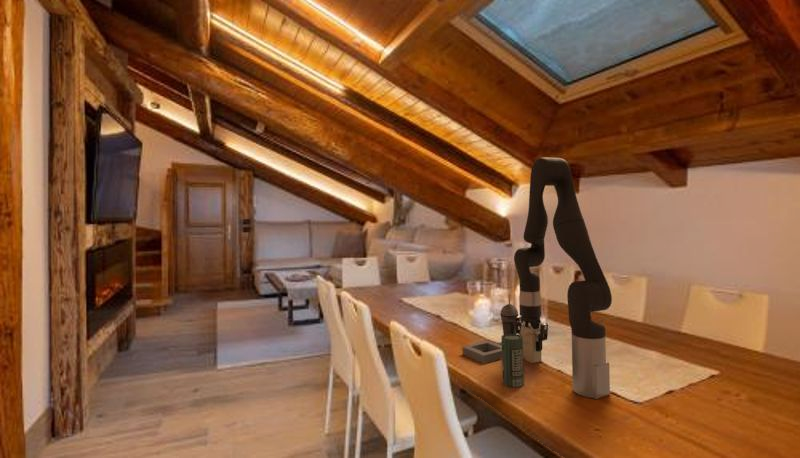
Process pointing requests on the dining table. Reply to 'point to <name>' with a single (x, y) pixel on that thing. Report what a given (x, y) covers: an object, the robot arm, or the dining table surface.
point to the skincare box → (530, 345)
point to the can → (512, 360)
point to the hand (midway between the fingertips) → (531, 348)
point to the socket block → (477, 352)
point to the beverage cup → (509, 318)
